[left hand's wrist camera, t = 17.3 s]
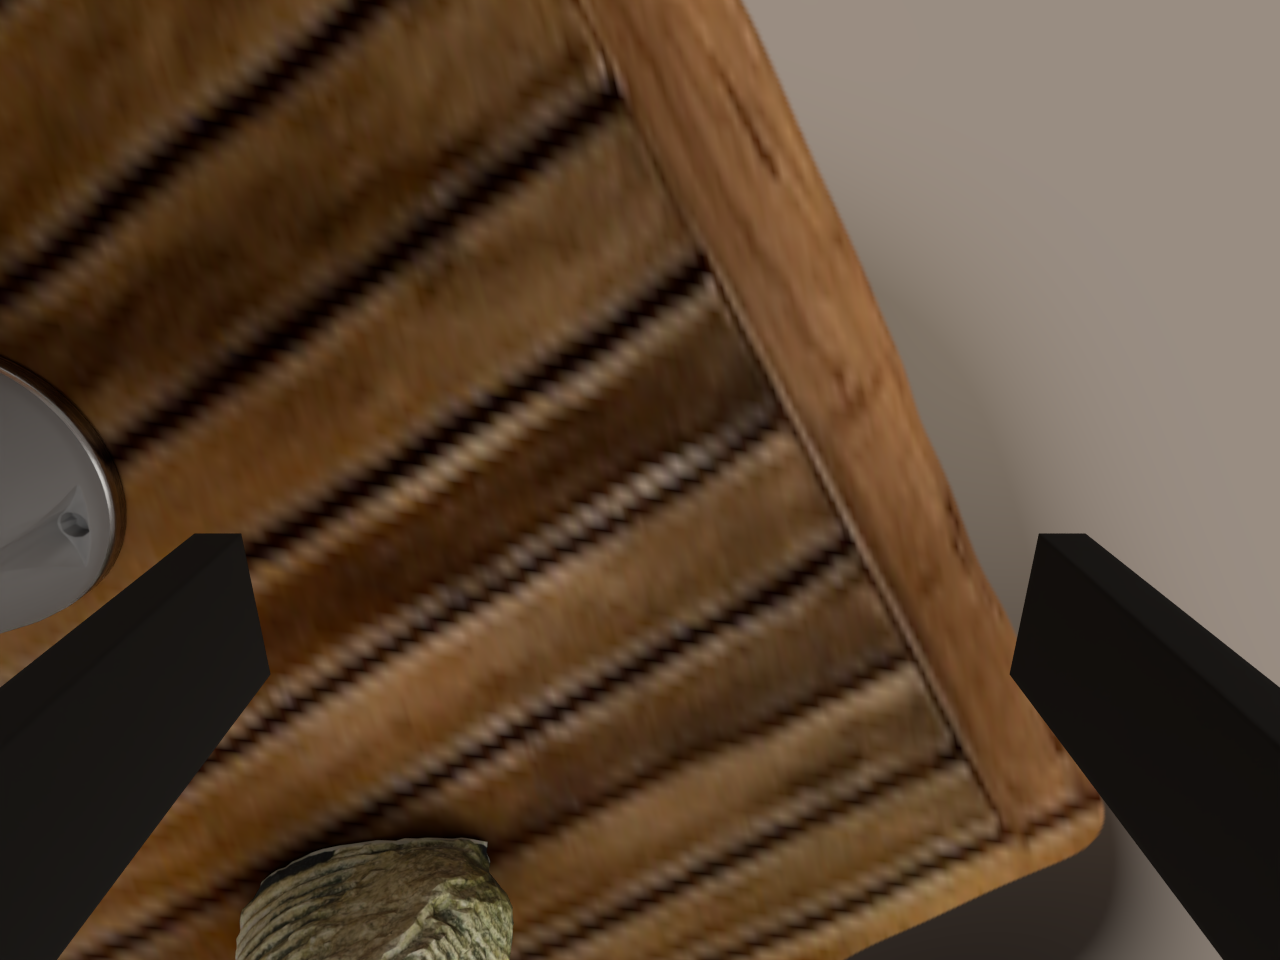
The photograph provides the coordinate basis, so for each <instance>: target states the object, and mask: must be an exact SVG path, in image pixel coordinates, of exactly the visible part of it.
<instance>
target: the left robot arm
mask: <svg viewBox="0 0 1280 960" xmlns="http://www.w3.org/2000/svg"><path fill="white" fill-rule="evenodd" d="M125 526H126V507H125V499H124V493H123V489H122V485H121V481H120V478H119V475H118V472H117V469H116V467H115V465H114V463H113V460H112V458H111V456H110V454H109V452H108V451H107V449H106V447H105V445H104V443H103V442H102V440H101V439H100V437H99V436H98V434H97V433H96V431H95V430H94V429H93V427H92V426H91V425H90V423H89V422H88V421H87V420H86V418H85V417H84V416H83V415H82V414H81V413H80V412H79V411H78V410H77V409H76V407H75V406H74V405H73V404H72V403H70V402H69V401H68V400H67V399H66V398H65V397H64V396H63V395H62V394H61V393H59V392H58V391H57V390H56V389H54V388H53V387H52V386H51V385H49V384H48V383H47V382H45V381H44V380H42V379H41V378H39V377H38V376H36V375H35V374H34V373H32V372H30V371H28V370H27V369H25V368H23V367H21V366H20V365H18V364H16V363H14V362H12V361H10V360H7V359H5V358H3V357H1V356H0V633H3V632H7V631H10V630H13V629H17V628H20V627H23V626H27V625H30V624H33V623H35V622H38V621H40V620H43V619H45V618H47V617H49V616H51V615H53V614H55V613H57V612H59V611H61V610H63V609H65V608H66V607H68V606H70V605H71V604H73V603H74V602H76V601H77V600H78V599H80V598H81V597H82V596H84V595H85V594H86V593H88V592H89V591H90V590H92V589H93V588H94V587H95V586H96V585H97V584H99V583H100V582H101V580H102V579H103V578H104V577H105V576H106V575H107V574H108V572H109V571H110V569H111V568H112V566H113V565H114V563H115V561H116V559H117V557H118V555H119V552H120V549H121V547H122V543H123V539H124V534H125ZM269 675H270V670H269V665H268V661H267V656H266V651H265V646H264V641H263V637H262V632H261V627H260V622H259V617H258V613H257V608H256V603H255V598H254V593H253V588H252V584H251V579H250V574H249V569H248V564H247V560H246V555H245V550H244V545H243V540H242V536H241V534H193V535H192V536H191V537H190V538H188V539H187V540H186V541H185V542H183V543H182V544H181V545H180V546H178V547H177V548H176V549H174V550H173V551H172V552H171V553H169V554H168V555H167V556H166V557H164V558H163V559H162V560H161V561H159V562H158V563H157V564H156V565H154V566H153V567H152V568H150V569H149V570H148V571H147V572H145V573H144V574H143V575H142V576H140V577H139V578H138V579H137V580H135V581H134V582H133V583H132V584H130V585H129V586H128V587H127V588H125V589H124V590H123V591H121V592H120V593H119V594H118V595H116V596H115V597H114V598H113V599H111V600H110V601H109V602H108V603H106V604H105V605H104V606H103V607H101V608H100V609H99V610H97V611H96V612H95V613H94V614H92V615H91V616H90V617H89V618H87V619H86V620H85V621H84V622H82V623H81V624H80V625H79V626H77V627H76V628H75V629H74V630H72V631H71V632H70V633H68V634H67V635H66V636H65V637H63V638H62V639H61V640H60V641H58V642H57V643H56V644H55V645H53V646H52V647H51V648H50V649H48V650H47V651H46V652H45V653H43V654H42V655H41V656H39V657H38V658H37V659H36V660H34V661H33V662H32V663H31V664H29V665H28V666H27V667H26V668H24V669H23V670H22V671H21V672H19V673H18V674H17V675H15V676H14V677H13V678H12V679H10V680H9V681H8V682H7V683H5V684H4V685H3V686H2V687H0V960H57V959H58V957H59V956H60V955H61V953H62V952H63V951H64V949H65V948H66V947H67V945H68V944H69V943H70V941H71V940H72V939H73V937H74V936H75V935H76V933H77V932H78V931H79V929H80V928H81V927H82V925H83V924H84V923H85V921H86V920H87V919H88V917H89V916H90V915H91V913H92V912H93V911H94V909H95V908H96V907H97V905H98V904H99V903H100V901H101V900H102V899H103V897H104V896H105V895H106V893H107V892H108V891H109V889H110V888H111V887H112V885H113V884H114V883H115V881H116V880H117V879H118V877H119V876H120V875H121V873H122V872H123V871H124V869H125V868H126V867H127V865H128V864H129V863H130V861H131V860H132V859H133V857H134V856H135V855H136V853H137V852H138V851H139V849H140V848H141V846H142V845H143V844H144V842H145V841H146V840H147V838H148V837H149V836H150V834H151V833H152V832H153V830H154V829H155V828H156V826H157V825H158V824H159V822H160V821H161V820H162V818H163V817H164V816H165V814H166V813H167V812H168V810H169V809H170V808H171V806H172V805H173V804H174V802H175V801H176V800H177V798H178V797H179V796H180V794H181V793H182V792H183V790H184V789H185V788H186V786H187V785H188V784H189V782H190V781H191V780H192V778H193V777H194V776H195V774H196V773H197V772H198V770H199V769H200V768H201V766H202V765H203V764H204V762H205V761H206V760H207V758H208V757H209V756H210V754H211V753H212V752H213V750H214V749H215V748H216V746H217V745H218V744H219V742H220V741H221V740H222V738H223V737H224V736H225V734H226V733H227V732H228V730H229V729H230V728H231V726H232V725H233V724H234V722H235V721H236V720H237V718H238V717H239V716H240V714H241V713H242V712H243V710H244V709H245V708H246V706H247V705H248V704H249V702H250V701H251V700H252V698H253V697H254V696H255V694H256V693H257V692H258V690H259V689H260V688H261V686H262V685H263V684H264V682H265V681H266V680H267V678H268V677H269ZM1010 675H1011V677H1012V678H1013V680H1014V681H1015V682H1016V684H1017V685H1018V686H1019V688H1020V689H1021V690H1022V692H1023V693H1024V694H1025V696H1026V697H1027V698H1028V700H1029V701H1030V702H1031V704H1032V705H1033V706H1034V708H1035V709H1036V710H1037V712H1038V713H1039V714H1040V716H1041V717H1042V718H1043V720H1044V721H1045V722H1046V724H1047V725H1048V726H1049V728H1050V729H1051V730H1052V732H1053V733H1054V734H1055V736H1056V737H1057V738H1058V740H1059V741H1060V742H1061V744H1062V745H1063V746H1064V748H1065V749H1066V750H1067V752H1068V753H1069V754H1070V756H1071V757H1072V758H1073V760H1074V761H1075V762H1076V764H1077V765H1078V766H1079V768H1080V769H1081V770H1082V772H1083V773H1084V774H1085V776H1086V777H1087V778H1088V780H1089V781H1090V782H1091V784H1092V785H1093V786H1094V788H1095V789H1096V790H1097V792H1098V793H1099V794H1100V796H1101V797H1102V798H1103V800H1104V801H1105V802H1106V804H1107V805H1108V806H1109V808H1110V809H1111V810H1112V812H1113V813H1114V814H1115V816H1116V817H1117V818H1118V820H1119V821H1120V822H1121V824H1122V825H1123V826H1124V828H1125V829H1126V830H1127V832H1128V833H1129V834H1130V836H1131V837H1132V838H1133V840H1134V841H1135V842H1136V844H1137V845H1138V846H1139V848H1140V849H1141V850H1142V852H1143V853H1144V855H1145V856H1146V857H1147V858H1148V860H1149V861H1150V862H1151V864H1152V865H1153V867H1154V868H1155V869H1156V871H1157V872H1158V873H1159V875H1160V876H1161V877H1162V879H1163V880H1164V881H1165V883H1166V884H1167V885H1168V887H1169V888H1170V889H1171V891H1172V892H1173V893H1174V895H1175V896H1176V897H1177V899H1178V900H1179V901H1180V903H1181V904H1182V905H1183V907H1184V908H1185V909H1186V911H1187V912H1188V913H1189V915H1190V916H1191V917H1192V919H1193V920H1194V921H1195V923H1196V924H1197V925H1198V927H1199V928H1200V929H1201V931H1202V932H1203V933H1204V935H1205V936H1206V937H1207V939H1208V940H1209V941H1210V943H1211V944H1212V945H1213V947H1214V948H1215V949H1216V951H1217V952H1218V953H1219V955H1220V956H1221V957H1222V959H1223V960H1280V687H1278V686H1277V685H1276V684H1275V683H1273V682H1272V681H1271V680H1270V679H1268V678H1267V677H1266V676H1265V675H1263V674H1262V673H1261V672H1259V671H1258V670H1257V669H1256V668H1254V667H1253V666H1252V665H1251V664H1249V663H1248V662H1247V661H1246V660H1244V659H1243V658H1242V657H1241V656H1239V655H1238V654H1237V653H1235V652H1234V651H1233V650H1232V649H1230V648H1229V647H1228V646H1227V645H1225V644H1224V643H1223V642H1222V641H1220V640H1219V639H1218V638H1217V637H1215V636H1214V635H1213V634H1212V633H1210V632H1209V631H1208V630H1206V629H1205V628H1204V627H1203V626H1201V625H1200V624H1199V623H1198V622H1196V621H1195V620H1194V619H1193V618H1191V617H1190V616H1189V615H1188V614H1186V613H1185V612H1184V611H1182V610H1181V609H1180V608H1179V607H1177V606H1176V605H1175V604H1174V603H1172V602H1171V601H1170V600H1169V599H1167V598H1166V597H1165V596H1164V595H1162V594H1161V593H1160V592H1159V591H1157V590H1156V589H1155V588H1153V587H1152V586H1151V585H1150V584H1148V583H1147V582H1146V581H1144V580H1143V579H1142V578H1141V577H1139V576H1138V575H1137V574H1136V573H1134V572H1133V571H1132V570H1131V569H1129V568H1128V567H1127V566H1126V565H1124V564H1123V563H1122V562H1121V561H1119V560H1118V559H1117V558H1116V557H1114V556H1113V555H1112V554H1111V553H1109V552H1108V551H1107V550H1105V549H1104V548H1103V547H1102V546H1100V545H1099V544H1098V543H1097V542H1095V541H1094V540H1093V539H1092V538H1090V537H1089V536H1088V535H1087V534H1039V536H1038V540H1037V545H1036V550H1035V555H1034V560H1033V564H1032V569H1031V574H1030V579H1029V584H1028V588H1027V593H1026V598H1025V603H1024V608H1023V613H1022V617H1021V622H1020V627H1019V632H1018V637H1017V641H1016V646H1015V651H1014V656H1013V661H1012V665H1011V670H1010Z"/></svg>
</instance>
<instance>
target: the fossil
mask: <svg viewBox="0 0 1280 960" xmlns="http://www.w3.org/2000/svg"><path fill="white" fill-rule="evenodd" d="M486 851H487V842H484V841H479V840H474V839H468V838H455V839H447V838H418V839H416V838H404V839H401V840H397V841H386V840H375V841H368V842H361V843H354V844H347V845H340V846H335V847H331V848H326V849H322V850H319V851H316V852H313V853H310V854H308V855H306V856H304V857H302V858H300V859H298V860H295V861H293V862H291V863H290V864H289V865H288V866H287V867H285V868H282V869H278V870H276V871H275V872H273V873H272V874H270V875H269V876H268V877H267V878H266V879H265V880H263V881H262V882H261V885H260V888H259V890H258V892H257V893H256V895H255V897H254V898H253V899H252V900H251V901H250V902H249V903H248V904H247V905H246V907H245V908H244V909H243V910H242V912H241V917H240V930H241V931H240V934H239V935H238V937H237V939H236V940H237V949H236V960H510V952H511V945H512V938H513V933H512V931H513V911H512V905H511V903H510V900H509V898H508V896H507V894H506V893H505V891H504V890H503V889H502V888H501V887H500V885H499V884H498V883H497V882H496V881H495V879H494V878H493V877H492V876H491V874H490V873H489V866H490V860H489V857H488V855H487V853H486Z"/></svg>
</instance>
